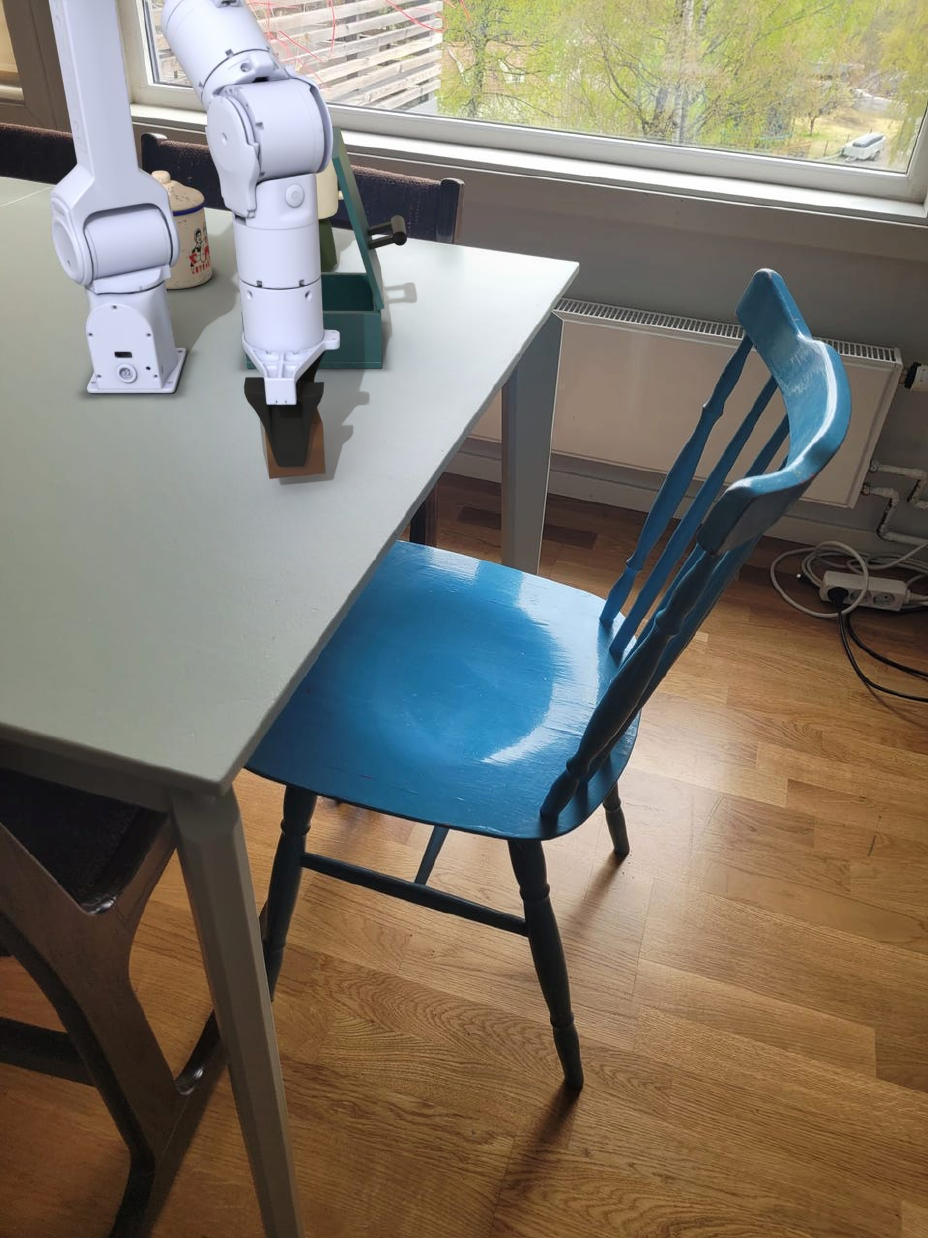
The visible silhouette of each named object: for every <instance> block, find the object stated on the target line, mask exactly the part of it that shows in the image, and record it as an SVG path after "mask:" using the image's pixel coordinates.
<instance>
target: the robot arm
mask: <svg viewBox="0 0 928 1238" xmlns="http://www.w3.org/2000/svg"><path fill="white" fill-rule="evenodd" d="M162 2H163V7H162V11H161V15H160V29H161V33H162V36H163V38H164V39H165V41H166V43H167V45H168V46H169V48H170V50H171V52H172V53H173V55H174V57H175V59H176V61H177V63H178V64H179V66H180V68H181V70H182V71H183V73H184V75H185V77H186V78H187V80H188V82H189V84H190V86H191V87H192V89H193V91H194V93H195V94H196V96H197V98H198V100H199V101H200V104H201V105H202V107H203V109H204V110H205V112H206V114H207V115H206V126H204V131H205V137H206V142H207V146H208V149H209V150H208V151H209V154H210V156H211V159H212V161H213V164H214V166H215V168H216V172H217V174H218V178H219V179H218V180H219V185H220V193H221V197H222V198H223V203H224V206H225V207H226V208H227V209H229V210H231V217H232V218H231V219H232V226H233V237H234V249H235V258H236V267H237V275H238V277H237V278H238V288H239V295H240V297H239V298H240V305H241V317H242V316H243V323H242V327H243V326H244V332H243V331H242V334H241V343H242V348H243V349H242V350H244V352H245V354H246V353H247V355H248V356H249V358H250V359H251V361H252V362H253V363H254V365H255V366H256V368H255V369H257V370H258V372H259V373H260V375H261V376H246V377H245V378H244V384H243V393H244V396H245V399H246V401H247V403H248V404H249V405H250V407H251V408H252V409H253V410H254V411H255V413H256V415H257V417H258V419H259V421H260V420H261V422H262V424H263V426H264V429H265V431H266V434H267V437H268V440H269V444H270V447H271V450H272V453H273V456H274V458H275V461H276V463H277V465H278V466H279V467H299V466H304V465H305V462H306V458H307V452H308V444H309V435H310V428H311V423H312V419H313V416H314V413H315V411H316V409H317V408H318V407H319V405H320V403H321V401H322V399H323V396H324V392H325V382H324V381H315V379H316V375H317V372H318V370H319V368H318V366H319V364H320V362H321V359H322V357H323V355H324V353H325V350H334V349H338V348H339V347H340V333H339V332H338V331H336V330H325V329H323V311H322V288H321V265H320V244H319V223H318V202H317V181H316V175H315V174H318V173H321V172H323V171H324V170H325V169H326V168H327V166H328V164H329V162H330V159H331V156H332V151H333V128H334V127H333V122H332V119H331V118H332V117H331V114H330V110H329V107H328V104H327V103H326V100H325V98H324V96H323V94H322V92H321V89H320V87H319V85H318V84H317V82H316V81H314V79H313V78H311V77H309V75H308V76H307V75H306V74H300V73H298V72H297V70H296V69H295V68H294V65H290V64H284V63H281V61H280V59H279V57H278V55H277V54H276V52H275V50H274V48H273V47H272V45H271V43H270V42H269V40H268V38H267V36H266V35H265V33H264V31H263V29H262V28H261V25H260V24H259V23H258V21H257V19H256V17H255V15H254V14H253V12H252V10H251V8H250V7H249V4H248V3H247V1H246V0H162ZM48 4H49V10H50V15H51V22H52V26H53V33H54V39H55V44H56V49H57V56H58V60H59V61H58V62H59V66H60V67H59V68H60V72H61V79H62V84H63V89H64V95H65V101H66V108H67V111H68V117H69V124H70V129H71V134H72V139H73V146H74V152H75V157H76V165H75V166H74V167H73V168H72V169H71V170H70V171H69V172H68V173H67V175H65V176H64V177H63V178H62V179H61V180H60V181H59V182H57V183H56V185H54V187H53V188H52V189H51V191H50V193H49V195H50V200H49V204H50V209H51V227H50V229H51V238H52V244H53V247H54V251H55V253H56V257H57V260H58V261H59V263H60V265H61V267H62V270H63V271H64V273H65V274H66V275H67V277H68V278H69V279H70V280H72V281H73V282H74V283H76V284H77V285H78V286H81V287H84V292H85V298H86V301H87V307H88V311H89V312H88V316H87V319H86V322H85V335H86V342H87V345H88V350H89V355H90V359H91V365H92V370H93V373H92V376H91V377H90V379H89V382H88V384H87V385H86V391H87V392H88V393H89V394H172V393H174V392H175V391H176V388H177V384H178V383H179V378H180V375H181V372H182V368H183V364H184V362H185V359H186V354H187V348H185V347H176V343H175V336H174V330H173V325H172V316H171V311H170V304H169V297H168V291H167V290H168V289H166V284H165V280H166V279H169V278H171V271H170V268H171V267H173V266H175V265H176V263H177V261H178V257H179V254H180V236H179V231H178V227H177V224H176V221H175V219H174V216H173V213H172V209H171V205H170V200H169V195H168V192H167V190H166V189H165V188H164V186H163V185H162V184H161V183H160V182H159V181H158V180H157V179H155V178H154V177H153V176H151V174H150V173H149V172H146V171H145V170H143V169H142V168H140V167H139V162H138V161H139V160H138V154H137V147H136V140H135V133H134V132H135V131H134V125H133V118H132V110H131V104H130V103H131V102H130V96H129V88H128V83H127V75H126V67H125V59H124V54H123V52H124V51H123V45H122V39H121V38H122V37H121V30H120V24H119V16H118V10H117V1H116V0H48Z"/></svg>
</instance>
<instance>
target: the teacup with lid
mask: <svg viewBox="0 0 928 1238" xmlns="http://www.w3.org/2000/svg"><path fill="white" fill-rule="evenodd" d="M150 175H151V176H153V177H154V178H155V179H157V180H158V181H159V182H160V183H161V184H162V185H163V186H164V188H165V189H166V190H167V192H168V195H169V200H170V205H171V209H172V213H173V216H174V219H175V221H176V224H177V227H178V231H179V236H180V254H179V257H178V261H177V263H176V265H175V266H173V267H171V268H170V271H171V278H169V279H166V280H165V284H166V290H180V289H181V290H182V289H188V288H194V287H198V286H200V285H202V284H204V283H206V282H207V281H209V280H210V279H211V277H212V276H213V269H212V261H211V253H210V245H209V244H210V243H209V235H208V228H207V219H206V210H205V207H206V204H207V202H206V201H207V200H206V199H205V197H204V195H203V193H202V192H201V191H200V190H198V189H195V188H192V187H190V186H185V185H183V184H182V183H181V182H178V181H176V180H173V179H171V174H170V173H169V172H168V171H166V170H154V171H152V173H151V174H150Z"/></svg>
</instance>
